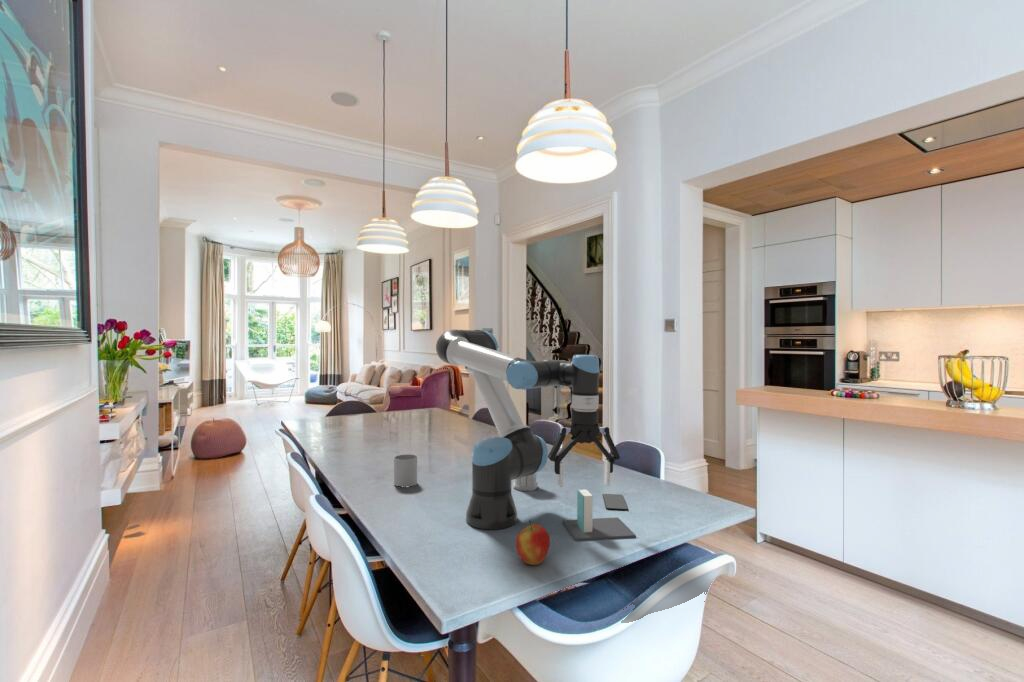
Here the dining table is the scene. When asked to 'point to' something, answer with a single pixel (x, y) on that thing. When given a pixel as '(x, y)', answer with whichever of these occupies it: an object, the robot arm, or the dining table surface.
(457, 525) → the dining table surface
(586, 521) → the teal white block
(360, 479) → the dining table surface
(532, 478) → the cup
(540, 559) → the apple
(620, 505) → the smartphone
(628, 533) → the mat
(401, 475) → the cup
